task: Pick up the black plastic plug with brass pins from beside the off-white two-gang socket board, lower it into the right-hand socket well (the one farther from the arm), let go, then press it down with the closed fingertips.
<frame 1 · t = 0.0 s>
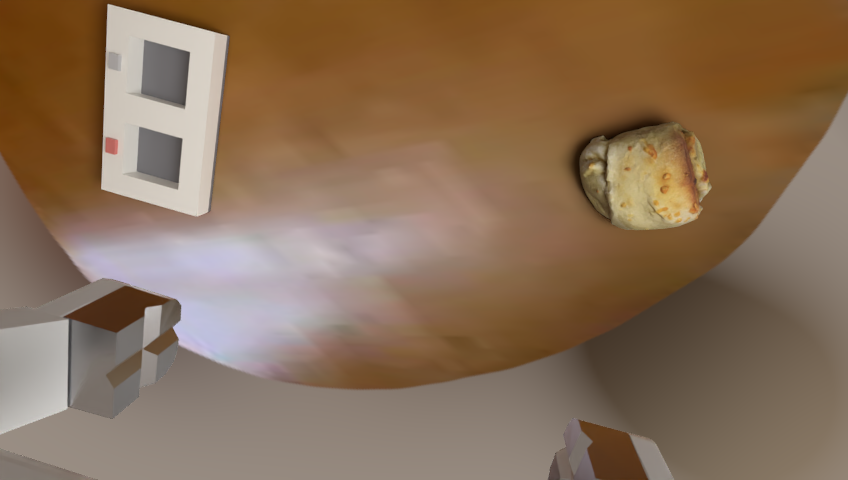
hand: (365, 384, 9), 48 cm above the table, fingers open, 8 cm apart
pastry: (639, 172, 54), on the table
socket board: (170, 115, 58), on the table
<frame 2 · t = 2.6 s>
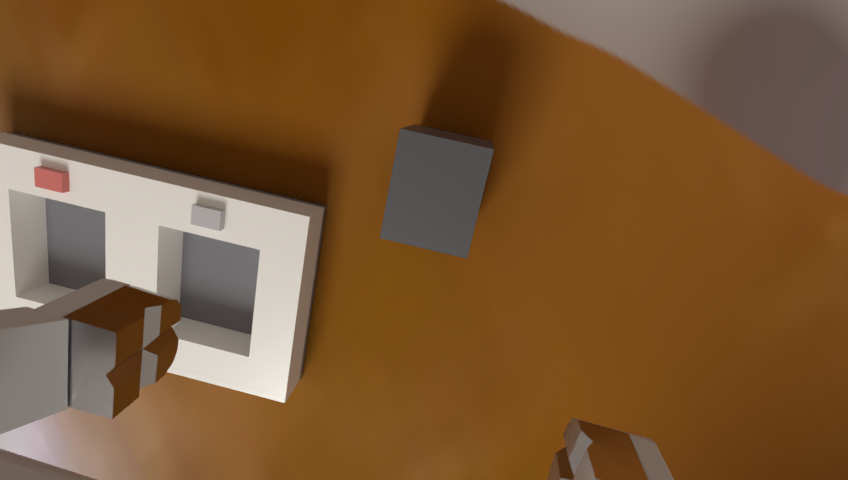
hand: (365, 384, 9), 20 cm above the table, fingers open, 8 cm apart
plug: (445, 177, 28), on the table
socket board: (162, 259, 32), on the table
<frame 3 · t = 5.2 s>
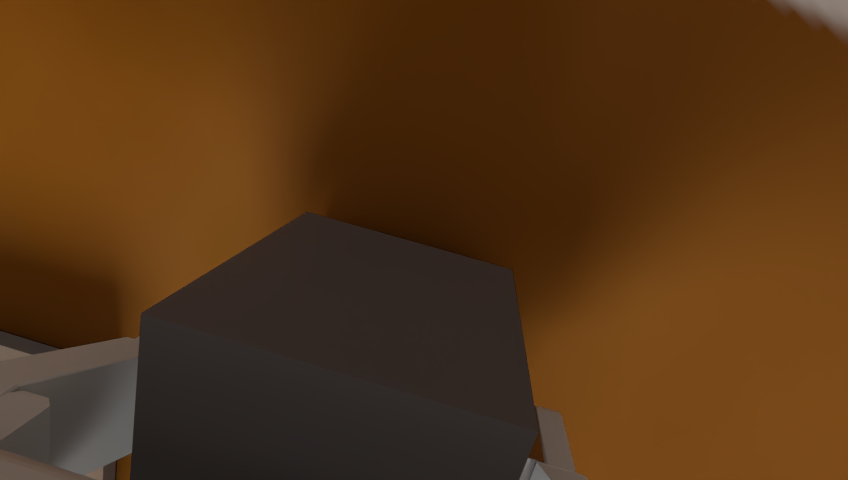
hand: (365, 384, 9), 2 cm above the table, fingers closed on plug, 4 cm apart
plug: (389, 330, 12), on the table, touching gripper
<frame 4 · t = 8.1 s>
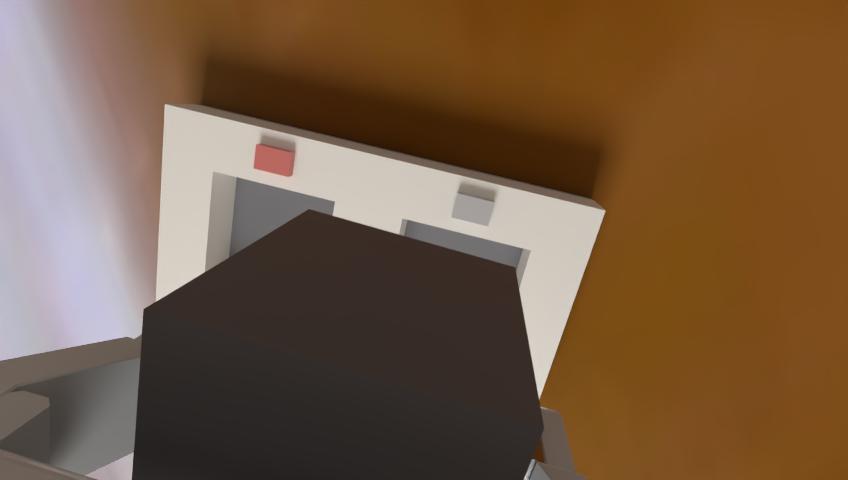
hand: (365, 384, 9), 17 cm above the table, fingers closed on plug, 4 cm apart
plug: (390, 328, 12), point 15 cm above the table, touching gripper
socket board: (369, 259, 27), on the table
when the fingers open (4 cm above the table, at t = 11.1 s): plug drops 1 cm, resting on socket board.
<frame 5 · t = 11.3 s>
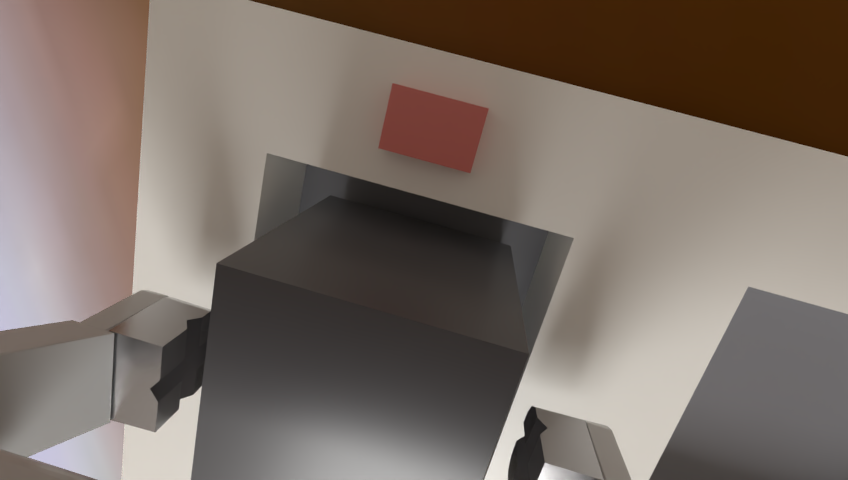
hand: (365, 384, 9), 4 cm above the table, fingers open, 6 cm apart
plug: (400, 303, 13), resting on socket board
socket board: (569, 347, 13), on the table
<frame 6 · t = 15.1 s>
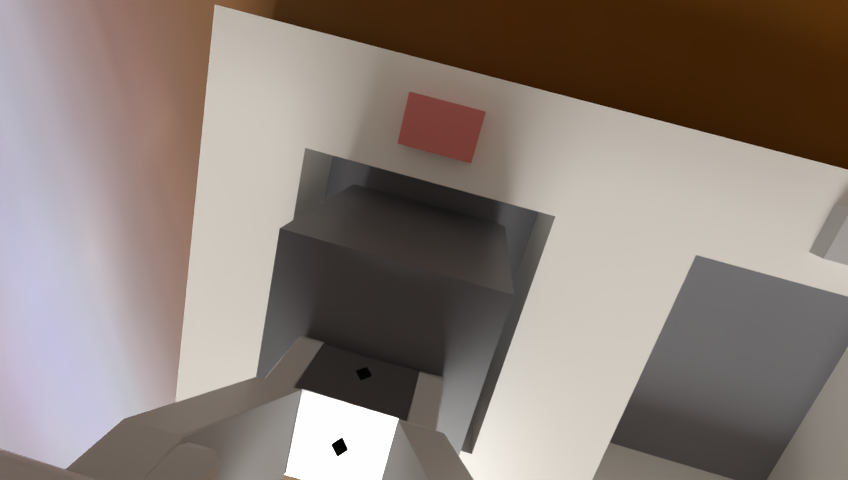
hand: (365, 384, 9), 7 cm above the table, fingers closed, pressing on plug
plug: (411, 278, 15), point 1 cm above the table, touching gripper, socket board
socket board: (556, 315, 15), on the table
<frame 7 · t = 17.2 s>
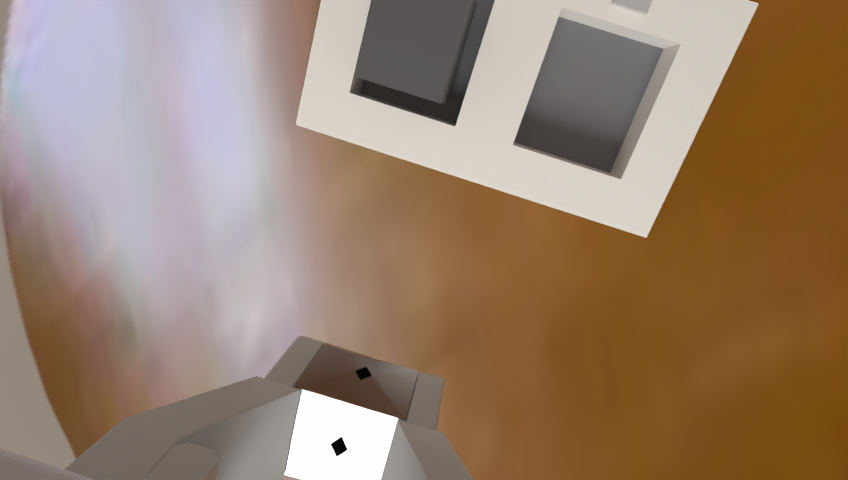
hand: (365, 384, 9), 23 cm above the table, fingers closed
plug: (427, 46, 28), resting on socket board
socket board: (503, 72, 29), on the table
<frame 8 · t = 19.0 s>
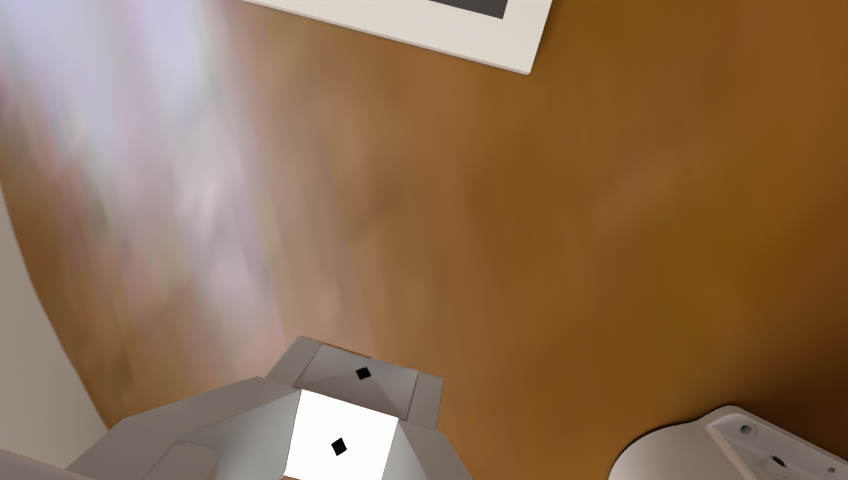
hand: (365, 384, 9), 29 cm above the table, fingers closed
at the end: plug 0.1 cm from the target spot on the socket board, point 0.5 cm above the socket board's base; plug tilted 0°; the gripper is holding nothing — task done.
